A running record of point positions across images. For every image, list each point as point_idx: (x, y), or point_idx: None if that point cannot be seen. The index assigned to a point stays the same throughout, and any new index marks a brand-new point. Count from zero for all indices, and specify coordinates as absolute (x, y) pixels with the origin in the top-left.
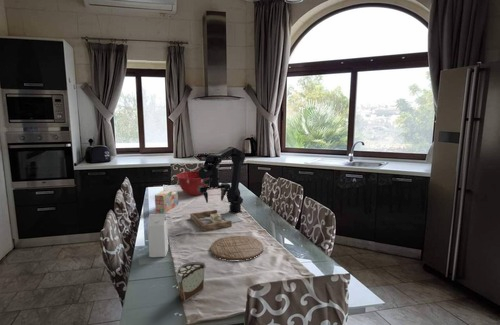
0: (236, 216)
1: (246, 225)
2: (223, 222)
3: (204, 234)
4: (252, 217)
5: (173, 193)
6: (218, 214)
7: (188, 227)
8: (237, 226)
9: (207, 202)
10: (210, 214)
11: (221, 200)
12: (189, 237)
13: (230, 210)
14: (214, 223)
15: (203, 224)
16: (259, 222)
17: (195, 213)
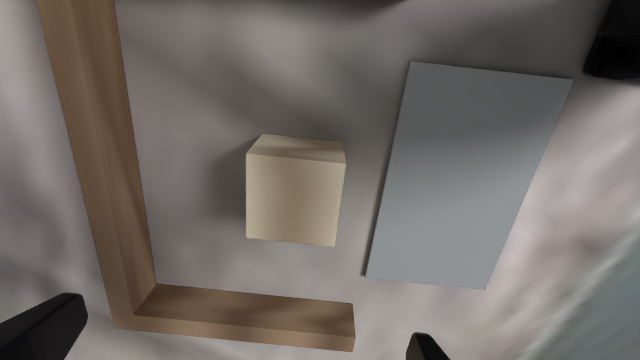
0: (522, 186)
1: None
2: (283, 344)
3: (137, 335)
4: (606, 265)
5: None
6: (326, 206)
7: (39, 182)
8: (378, 338)
9: (75, 330)
10: (247, 156)
11: (409, 347)
12: None
13: (617, 12)
14: (211, 331)
15: (123, 308)
16: (544, 356)
17: None
